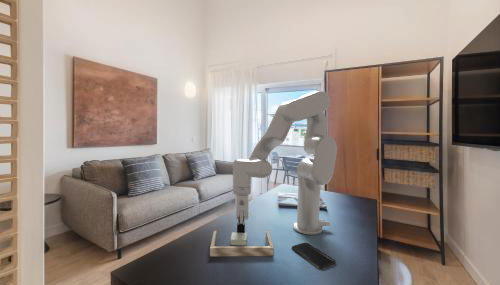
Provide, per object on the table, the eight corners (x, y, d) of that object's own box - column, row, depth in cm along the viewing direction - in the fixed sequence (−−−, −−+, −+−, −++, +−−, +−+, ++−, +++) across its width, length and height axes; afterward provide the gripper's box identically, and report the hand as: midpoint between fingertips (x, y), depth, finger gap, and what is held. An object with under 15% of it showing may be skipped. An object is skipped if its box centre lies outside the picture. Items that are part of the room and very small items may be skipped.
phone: (306, 242, 91) (337, 261, 78) (306, 244, 91) (337, 264, 78) (290, 246, 87) (319, 267, 74) (290, 249, 87) (319, 271, 74)
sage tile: (246, 238, 95) (246, 232, 95) (246, 246, 89) (246, 240, 89) (231, 238, 95) (232, 232, 95) (230, 245, 89) (230, 239, 89)
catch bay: (268, 237, 95) (268, 230, 95) (273, 255, 82) (273, 247, 82) (213, 237, 94) (213, 230, 94) (210, 256, 81) (210, 247, 80)
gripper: (252, 194, 88) (250, 242, 89) (250, 185, 103) (249, 225, 104) (232, 194, 88) (231, 242, 89) (233, 184, 102) (232, 225, 104)
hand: (240, 233), depth 96 cm, fingers closed
